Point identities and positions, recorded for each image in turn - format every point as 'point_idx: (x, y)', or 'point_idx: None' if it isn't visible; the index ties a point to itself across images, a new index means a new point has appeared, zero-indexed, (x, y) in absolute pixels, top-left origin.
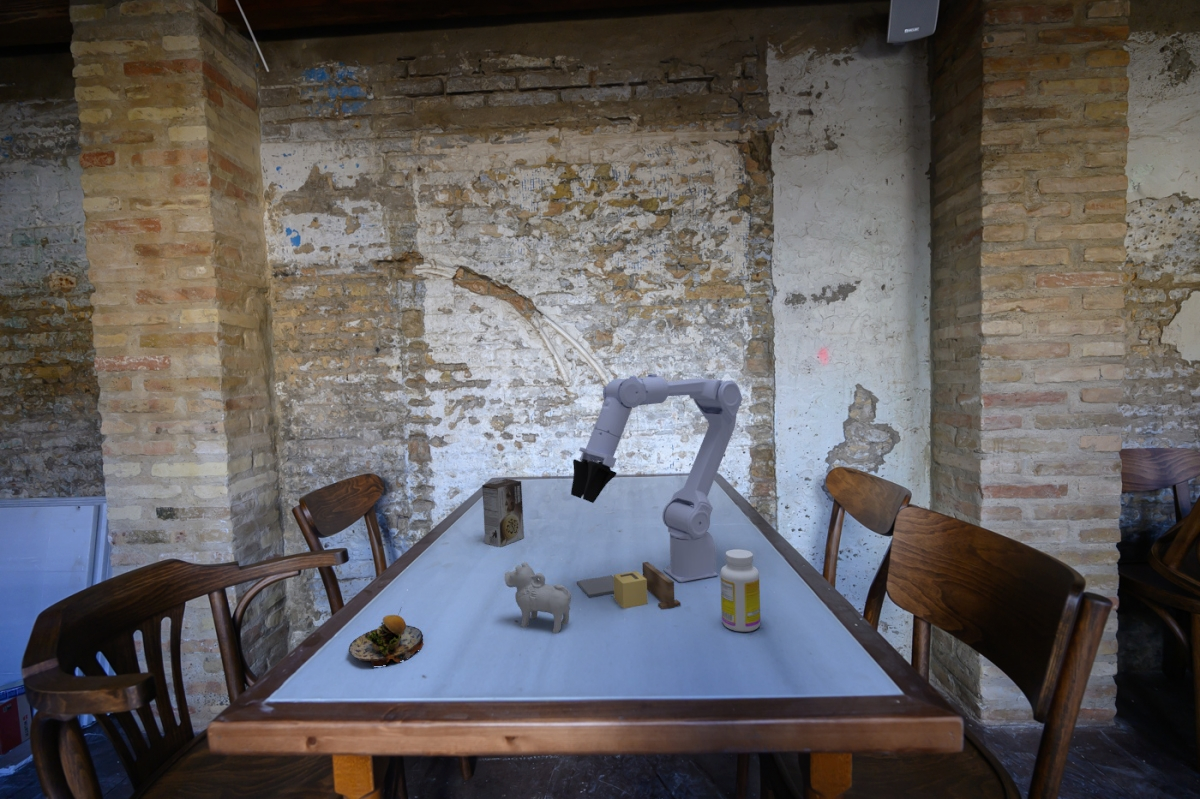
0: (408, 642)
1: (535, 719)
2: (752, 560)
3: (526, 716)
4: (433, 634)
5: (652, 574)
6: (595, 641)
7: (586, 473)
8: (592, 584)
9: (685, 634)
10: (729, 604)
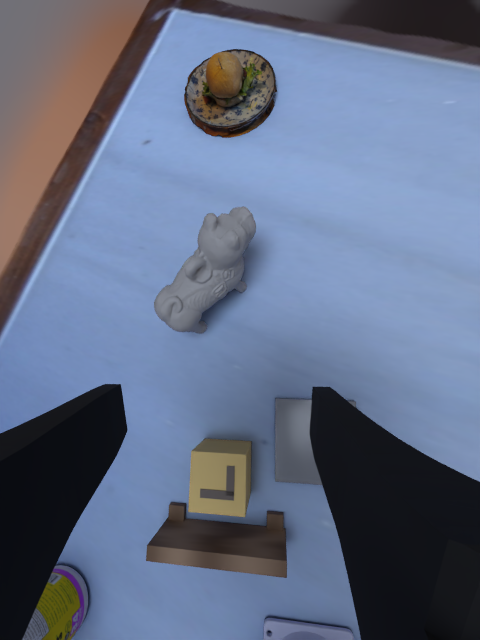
0: (229, 117)
1: (18, 241)
2: None
3: (27, 233)
4: (248, 148)
5: (228, 548)
6: (126, 350)
7: (367, 572)
8: None
9: None
10: None
